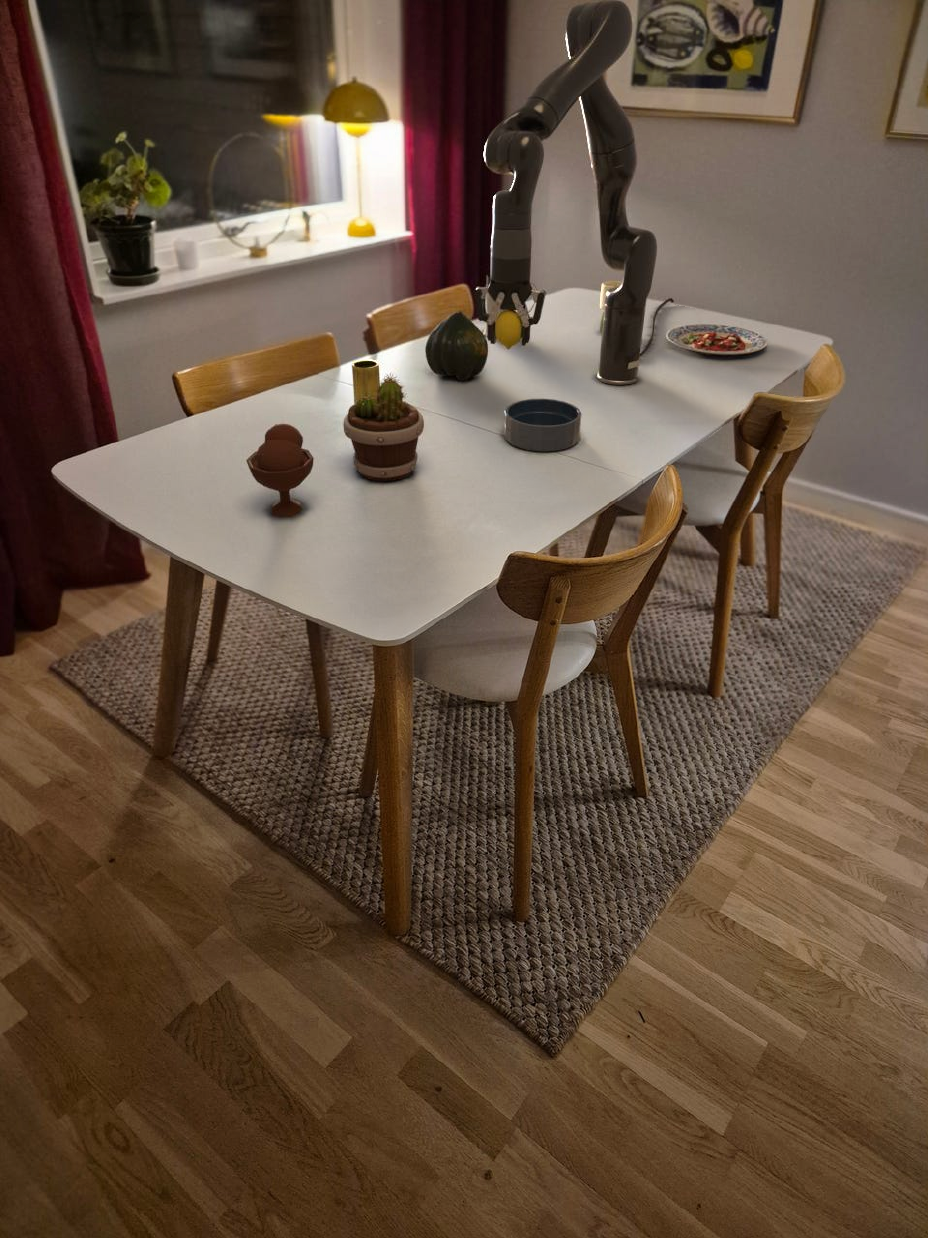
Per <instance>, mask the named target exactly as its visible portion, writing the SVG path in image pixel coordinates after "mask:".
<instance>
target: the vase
mask: <svg viewBox="0 0 928 1238" xmlns="http://www.w3.org/2000/svg"><path fill="white" fill-rule="evenodd" d="M351 374H352V388H353V389H352V390H353V405H354V404H357V399H358V397H359V396H361V397H359V399H361V398H364V396H365V393H366V394H367V392H368V394H367V396H368V397H370V396H371V397H370V398H372V397H373V396H374V395H376V396H377V394H378V393H375V392H377V391H376V390H375V388H377V386H378V387H379V384H380V383H381V379H380V378H381V377H380V366H379V362H378V361H377V360H373V359H361V360H360V359H359V360H356V361H354V362H352V363H351ZM379 381H380V382H379ZM375 385H377V386H376V387H375ZM380 385H381V384H380ZM373 389H374V390H373ZM374 391H375V392H374ZM363 394H364V395H363ZM365 397H366V396H365ZM359 399H358V400H359ZM373 399H374V398H373ZM376 399H377V398H376ZM355 400H356V401H355Z"/></svg>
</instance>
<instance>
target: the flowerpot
mask: <svg viewBox="0 0 928 1238" xmlns="http://www.w3.org/2000/svg"><path fill="white" fill-rule="evenodd" d="M393 376H394V374H392V372H390V374H386V375H384V378H382V380H380V381H379V382H380V384H379V387H378V386H377V385H375V387H376V386H377V388H375V390H376V391H377V392H375V391H374V392H375V393H378V394H377V396H376V395H374V396H373V397H372V398H370V397H371V396H370V397H368V396H367V394H368V392H367V394H366V393H365V396H366V397H365V396H364V398H361V399H359V397H361V396H359V397H358V399H359V400H358V399H357V404H354V403H353V404H352V405H350V407H349V408H348V410H347V414H346V415H345V417H344V419H343V424H342V425H343V433H344V435H345V436H346V437H347V438H348V439H349V440H351V444H352V447H353V450H354V454H353V456H352V459H353V463H354V468H355V469H356V470H357V471H358V472H359V473H360V474H361V475H362V477H363V478H365V479H368V480H371V481H374V482H375V481H376V482H390V481H391V482H392V481H396V480H403V479H405V478H407V477H408V476H410V475H411V474H412V472H413V470H414V469H415V468H416V466H417V462H418V458H419V457H418V456H419V455H418V452H417V446H418V442H419V441H418V440H419V437H420V436H421V435H422V434H423V432H424V429H425V420H424V416H423V414H422V412H420V411H419V410H418V409H417V408H416V407H415V406H413V405H412V404H410V403H408V402H406V401H404V400H406V399H407V398H408V393H406V391H405V390H406V387H404V385H402V382H399V381H400V379H397V378H396V376H394V377H393ZM400 383H401V384H400ZM373 390H374V389H373ZM363 395H364V394H363ZM406 395H407V396H406ZM373 398H374V399H373ZM376 398H377V399H376ZM355 401H356V400H355Z"/></svg>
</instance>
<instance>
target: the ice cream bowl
mask: <svg viewBox="0 0 928 1238" xmlns="http://www.w3.org/2000/svg"><path fill="white" fill-rule="evenodd" d="M303 443H304V436H303V435H302V434H301V432H300V430H299V429H297V428H296V427H295V426H293V425H291V424H289V423H276V424H274V425H273V426H271V427H270V428H269V429H267V430H266V432H265V434H264V442H262V443H261V444H260V445H259V447H258V448H257V451H254V452H253V453H252V454H251V455H250V456H249V457H248V458H247V459H245V461H246V464H247V466H248V469H249V471H250V474H251V475H252V477H253V478H254V480H255V481H256V483H258V484H259V485H261V486H263V487H265V488H267V489H270V490H273V491H276V492H278V493H279V500H278V501H276V502H274V503H273V505H271V507H270V513H271V515H272V516H276V517H279V518H290V517H294V516H297V515H299V514H301V512H302V511H303V509H304V508H303V506H302V504H301V502H299V501H297V500H294V499H291V490H293V489H296V488H297V487H298V486H300V485H301V484H302V483H303V482H304V481H305V479H306V478H307V477H308V476H309V475H310V474H311V472H312V470H313V467H314V461H315V459H314V458H315V457H314V456H313V454H312V453H311V451H310V450H309V449H305V448H302V447H303Z"/></svg>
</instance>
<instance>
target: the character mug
mask: <svg viewBox="0 0 928 1238" xmlns="http://www.w3.org/2000/svg"><path fill="white" fill-rule="evenodd" d="M622 282H623V281H617V280H609V281H604V282H602V283H601V290H600V299H599V300H600V301H599V308H600V309H601V310H603V312H602V315H601V319H600V324H599V330H598V332H600V333H602V329H603V319H604V308H605V297H606V292H607V291H608V290H609V289H611V288H614V287H619V286H621V285H622Z"/></svg>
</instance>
